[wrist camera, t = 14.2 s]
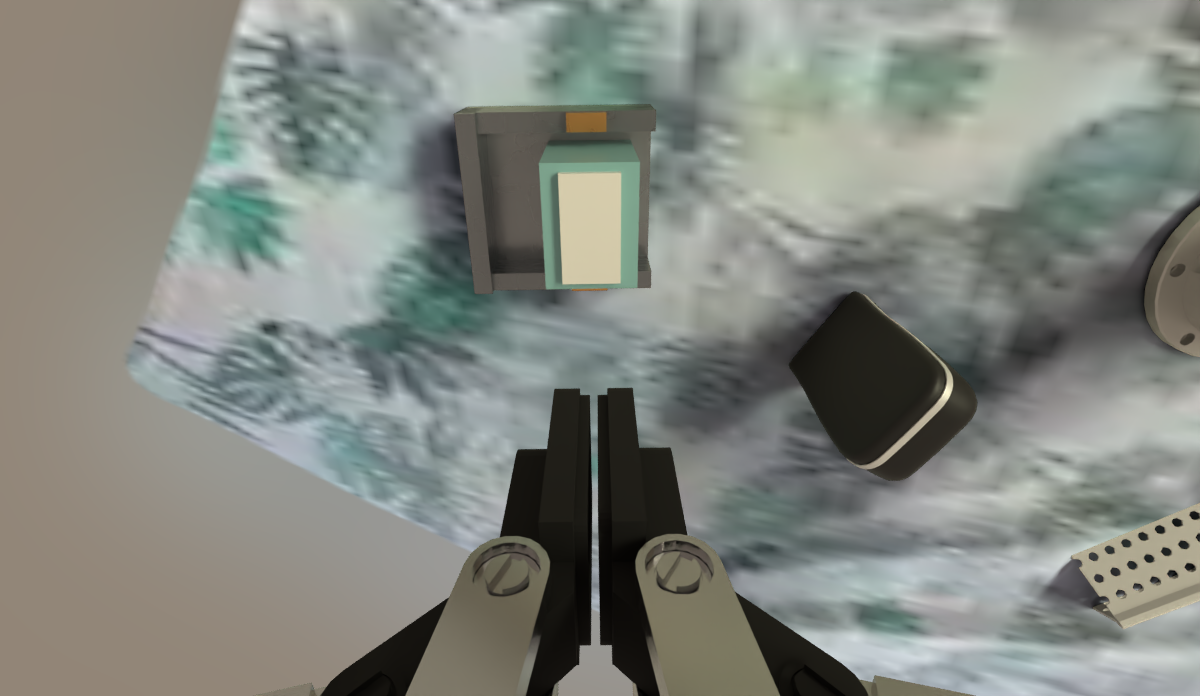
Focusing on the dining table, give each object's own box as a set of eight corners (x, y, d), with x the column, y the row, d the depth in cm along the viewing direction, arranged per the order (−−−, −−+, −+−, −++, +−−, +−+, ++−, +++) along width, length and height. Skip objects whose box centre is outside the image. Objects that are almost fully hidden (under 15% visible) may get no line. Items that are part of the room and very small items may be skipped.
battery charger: (824, 390, 41) (901, 504, 31) (782, 365, 40) (847, 474, 30) (897, 312, 38) (1007, 409, 28) (854, 284, 37) (952, 373, 27)
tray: (649, 104, 32) (657, 111, 29) (645, 268, 37) (651, 291, 33) (468, 106, 32) (453, 113, 29) (485, 270, 37) (474, 294, 33)
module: (630, 139, 32) (640, 163, 26) (629, 245, 35) (638, 290, 29) (548, 140, 32) (538, 165, 26) (553, 246, 35) (545, 292, 29)
